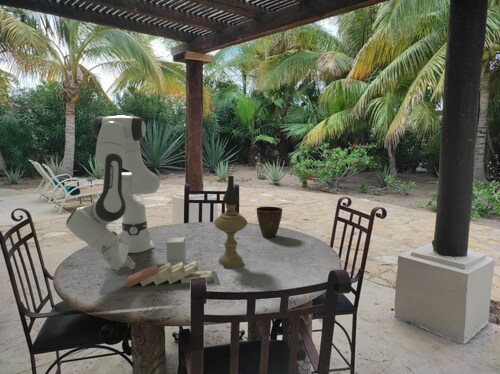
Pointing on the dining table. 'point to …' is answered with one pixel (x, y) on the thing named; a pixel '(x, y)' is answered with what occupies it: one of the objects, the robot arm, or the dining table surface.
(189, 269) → the domino
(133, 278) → the domino
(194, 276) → the domino
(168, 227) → the dining table surface
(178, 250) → the supplement box
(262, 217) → the plant pot
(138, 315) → the dining table surface
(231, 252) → the oil lamp
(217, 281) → the mat
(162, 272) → the domino
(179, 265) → the domino
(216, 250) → the dining table surface
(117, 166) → the robot arm
